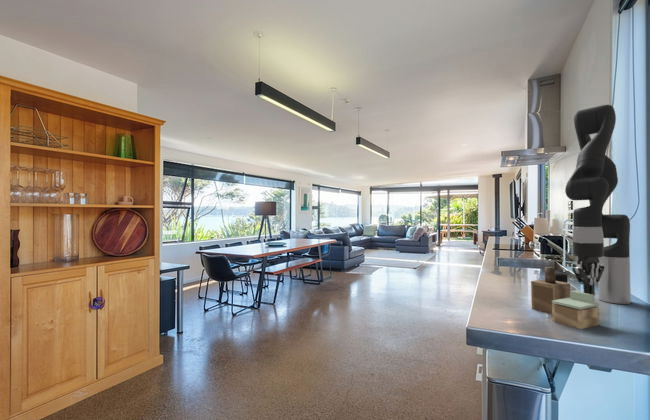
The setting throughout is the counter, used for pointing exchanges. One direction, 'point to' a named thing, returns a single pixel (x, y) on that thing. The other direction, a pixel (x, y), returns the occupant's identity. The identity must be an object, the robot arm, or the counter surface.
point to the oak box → (575, 316)
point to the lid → (577, 300)
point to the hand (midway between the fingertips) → (589, 296)
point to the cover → (548, 291)
